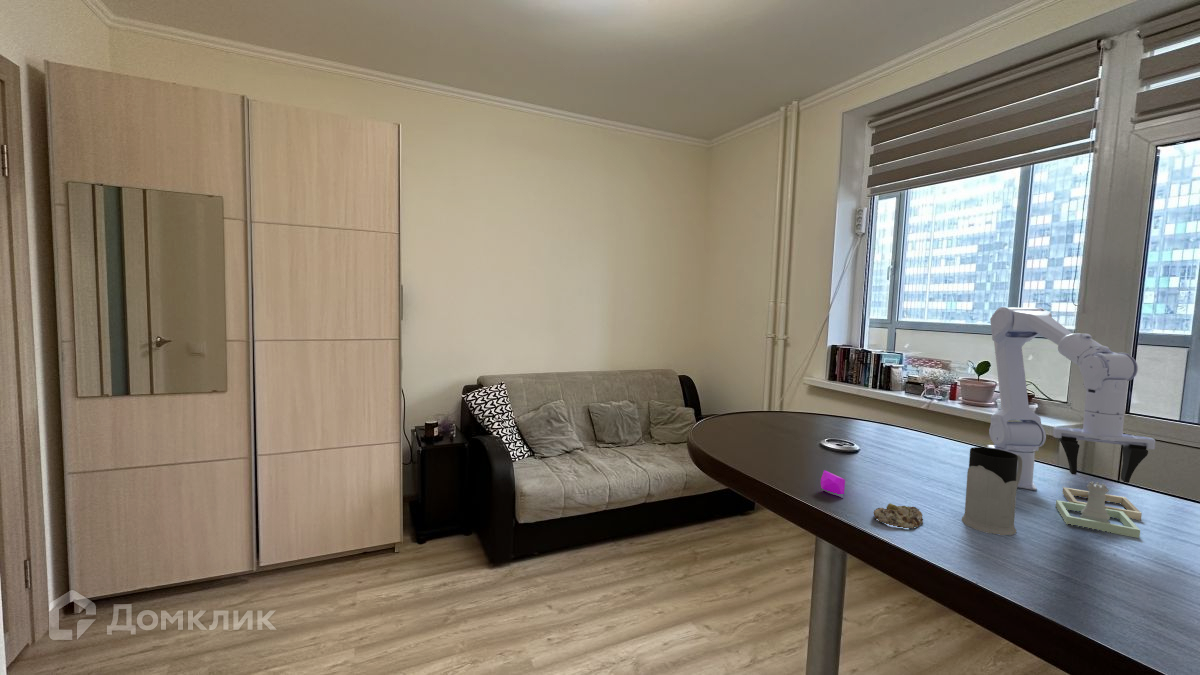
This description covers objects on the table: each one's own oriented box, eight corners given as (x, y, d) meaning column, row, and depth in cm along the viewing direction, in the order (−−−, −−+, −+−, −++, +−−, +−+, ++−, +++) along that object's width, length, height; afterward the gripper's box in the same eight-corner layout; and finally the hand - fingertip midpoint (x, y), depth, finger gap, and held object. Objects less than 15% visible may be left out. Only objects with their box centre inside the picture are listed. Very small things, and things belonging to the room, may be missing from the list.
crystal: (818, 494, 115) (819, 475, 115) (823, 487, 119) (824, 469, 119) (843, 499, 112) (844, 479, 112) (847, 492, 116) (848, 473, 116)
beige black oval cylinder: (951, 520, 102) (956, 448, 101) (993, 509, 107) (998, 441, 106) (1000, 538, 94) (1005, 461, 93) (1042, 526, 99) (1047, 453, 98)
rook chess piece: (1116, 527, 99) (1119, 488, 99) (1090, 525, 100) (1093, 486, 100) (1098, 518, 104) (1102, 481, 103) (1073, 516, 105) (1077, 479, 104)
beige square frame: (1072, 508, 108) (1073, 501, 108) (1062, 493, 117) (1063, 487, 117) (1141, 520, 103) (1141, 513, 102) (1124, 504, 111) (1125, 497, 111)
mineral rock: (897, 523, 95) (867, 497, 103) (890, 541, 97) (861, 514, 104) (940, 519, 98) (908, 494, 105) (933, 537, 100) (902, 511, 107)
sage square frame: (1066, 524, 101) (1066, 516, 100) (1055, 506, 109) (1056, 499, 109) (1139, 538, 95) (1140, 530, 95) (1122, 518, 103) (1122, 511, 103)
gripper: (1060, 410, 101) (1055, 475, 102) (1163, 420, 93) (1157, 490, 94) (1053, 404, 107) (1048, 466, 108) (1150, 413, 99) (1144, 480, 100)
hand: (1098, 477), depth 101 cm, fingers open, 7 cm apart
